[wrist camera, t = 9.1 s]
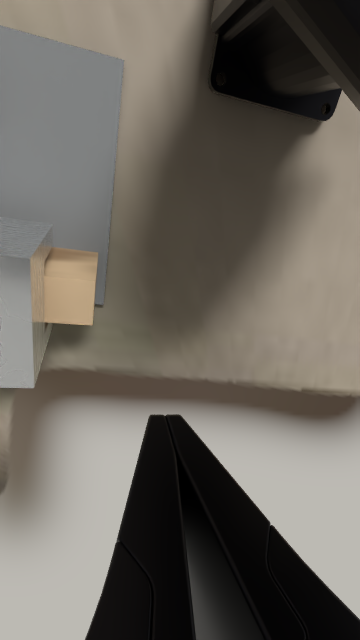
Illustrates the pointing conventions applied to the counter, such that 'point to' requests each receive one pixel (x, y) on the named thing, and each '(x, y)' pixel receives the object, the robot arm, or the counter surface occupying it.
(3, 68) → the mat
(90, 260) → the block
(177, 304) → the counter surface
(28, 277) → the rough concrete cube
